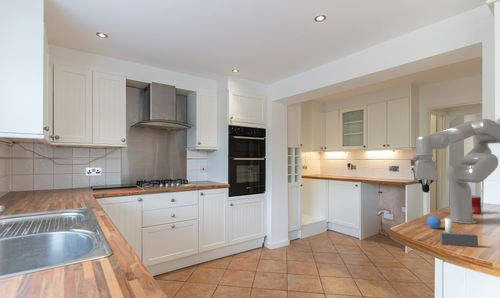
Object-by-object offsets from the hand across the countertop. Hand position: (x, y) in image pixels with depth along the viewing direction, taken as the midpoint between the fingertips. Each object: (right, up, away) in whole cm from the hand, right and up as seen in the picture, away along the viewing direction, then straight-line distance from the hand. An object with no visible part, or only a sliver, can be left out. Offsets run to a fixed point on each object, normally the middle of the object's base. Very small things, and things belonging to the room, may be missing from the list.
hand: (425, 192), depth 138 cm
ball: (-3, -14, -10) cm, 17 cm away
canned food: (+46, -18, +23) cm, 54 cm away
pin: (-8, -16, -26) cm, 31 cm away
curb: (-11, -16, -34) cm, 39 cm away
